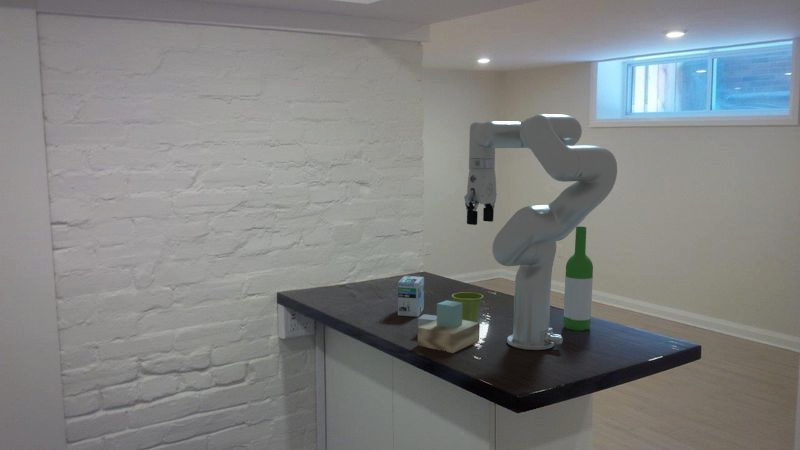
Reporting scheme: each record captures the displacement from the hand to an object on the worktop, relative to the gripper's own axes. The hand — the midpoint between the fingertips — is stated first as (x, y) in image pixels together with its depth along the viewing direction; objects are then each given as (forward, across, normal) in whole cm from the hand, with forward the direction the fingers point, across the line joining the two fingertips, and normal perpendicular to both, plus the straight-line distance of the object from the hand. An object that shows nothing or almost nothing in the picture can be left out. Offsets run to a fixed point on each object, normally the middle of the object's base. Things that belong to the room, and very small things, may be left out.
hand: (480, 222), depth 209 cm
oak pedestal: (+30, -23, -4) cm, 38 cm away
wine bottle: (+31, +13, -26) cm, 42 cm away
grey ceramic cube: (+30, -19, +5) cm, 36 cm away
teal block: (+25, -23, -4) cm, 34 cm away
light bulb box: (+31, -2, +23) cm, 38 cm away
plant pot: (+31, -3, +2) cm, 31 cm away
